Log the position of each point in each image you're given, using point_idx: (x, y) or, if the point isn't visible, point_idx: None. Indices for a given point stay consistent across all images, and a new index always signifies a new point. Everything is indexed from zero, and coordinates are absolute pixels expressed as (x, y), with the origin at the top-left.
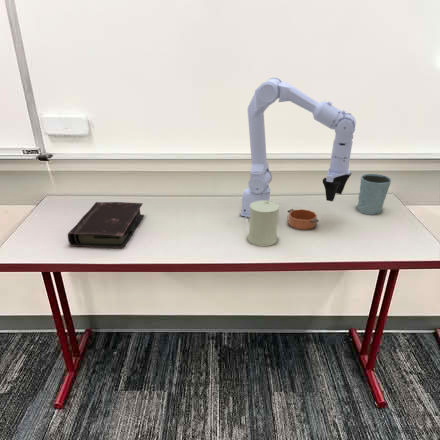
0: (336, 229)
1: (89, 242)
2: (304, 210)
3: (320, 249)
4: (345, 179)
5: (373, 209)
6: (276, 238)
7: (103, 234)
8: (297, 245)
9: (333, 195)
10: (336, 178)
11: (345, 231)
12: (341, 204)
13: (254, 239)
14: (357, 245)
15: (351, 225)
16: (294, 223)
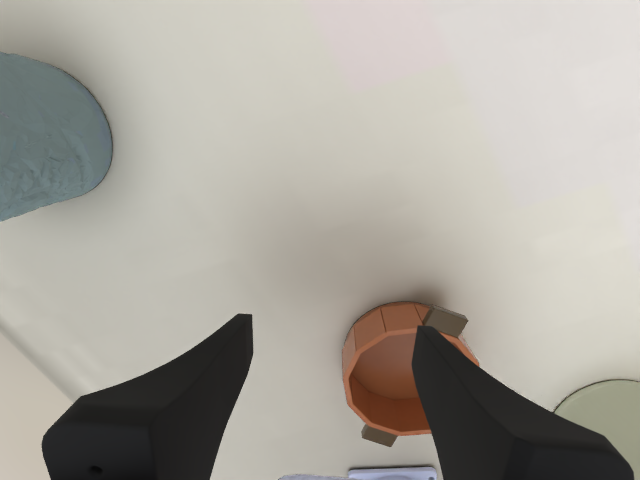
0: (380, 209)
1: None
2: (350, 393)
3: (632, 206)
4: (194, 397)
5: (71, 94)
6: (608, 389)
7: None
8: (619, 303)
9: (463, 358)
10: (205, 470)
11: (382, 163)
12: (89, 275)
13: None
14: (525, 51)
15: (295, 158)
16: None
